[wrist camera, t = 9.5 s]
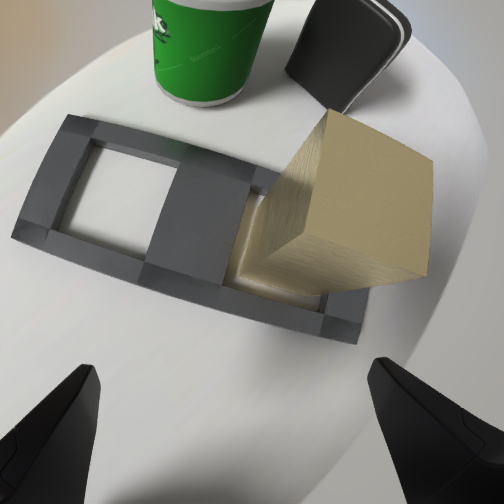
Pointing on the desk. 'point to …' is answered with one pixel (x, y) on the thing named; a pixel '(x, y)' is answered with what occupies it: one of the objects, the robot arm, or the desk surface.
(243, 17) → the soda can
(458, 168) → the desk surface
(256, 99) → the desk surface
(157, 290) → the grey rectangular frame
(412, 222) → the block
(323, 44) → the battery charger
